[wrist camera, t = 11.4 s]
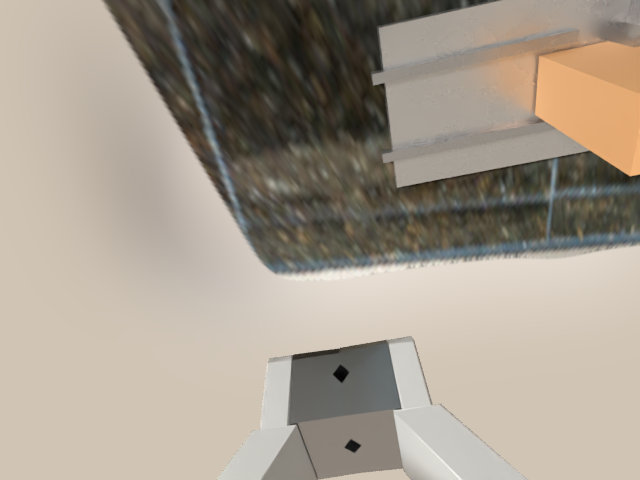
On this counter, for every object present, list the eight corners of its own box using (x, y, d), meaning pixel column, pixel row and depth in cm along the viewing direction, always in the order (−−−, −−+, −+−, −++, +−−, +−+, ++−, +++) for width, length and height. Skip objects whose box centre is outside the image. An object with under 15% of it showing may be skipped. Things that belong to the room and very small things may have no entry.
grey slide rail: (384, 184, 39) (394, 214, 34) (363, 29, 32) (373, 39, 27) (631, 137, 37) (677, 161, 32) (666, -39, 30) (731, -40, 25)
